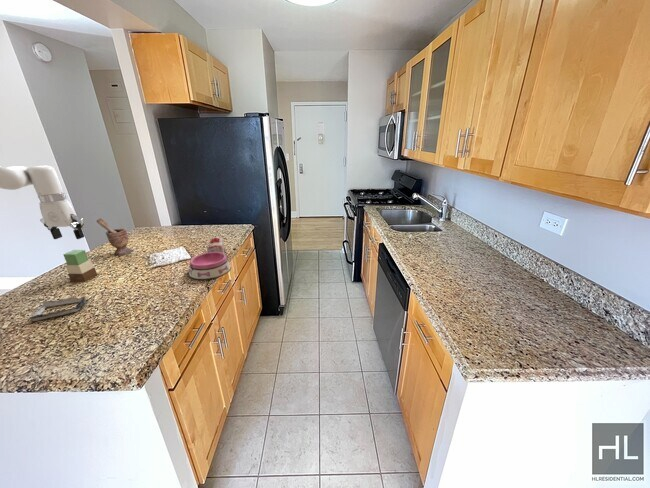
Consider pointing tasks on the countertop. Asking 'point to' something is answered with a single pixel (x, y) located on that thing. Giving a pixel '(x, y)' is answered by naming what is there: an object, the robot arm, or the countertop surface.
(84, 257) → the green block
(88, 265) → the cream block
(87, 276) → the walnut block
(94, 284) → the countertop surface
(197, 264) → the dog bowl
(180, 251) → the white flat packet
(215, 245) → the food item
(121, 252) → the mortar and pestle
